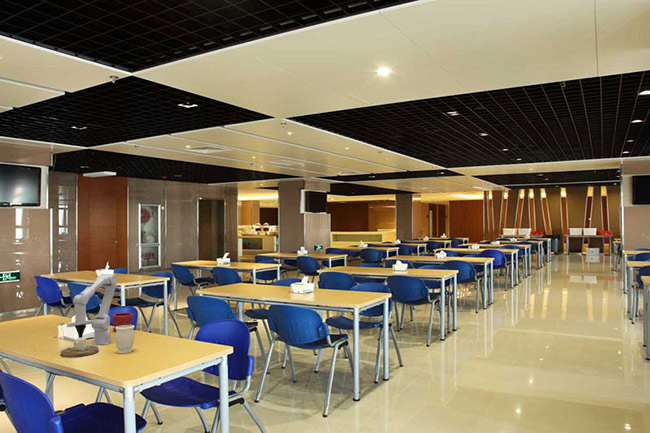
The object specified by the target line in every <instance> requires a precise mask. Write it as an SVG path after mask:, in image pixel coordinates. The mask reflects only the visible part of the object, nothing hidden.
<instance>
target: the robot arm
mask: <svg viewBox="0 0 650 433" xmlns="http://www.w3.org/2000/svg"><path fill="white" fill-rule="evenodd" d="M118 281H119V279H118V277H117V275H116V274H108V273H107V274H105V273H102V274H100V275H99V276H98V277H97V279H96V281H95V282H94V283H93V284H92V285H91V286H88V287H85V289H84V290H83V291H82V292H80V293H79V294H76V295H75V296H74V297H73V300H72V302H73V305H74V308H75V309H74V310H75V312H74V322H69V323H66V327H67V328H72V327H75V330H76V332H77V335H78V336H77V337H78V338H83V336H84V332H85V330H86V328H87V325H91V327H92V329H93V331H94V332H93V334H94V336H93V337H94V338H93V339H94V340H93V343H92V346H99V345H110V343H111V339H112V338H111V337H112V336H111V329H110V328H109V327H110V324H111V317H110V315H109V311H110V307H111V304H112V302H113V298H114V295H115V291H116V286H117V283H118ZM101 286H102V287H103V288H104V290H105V291H104V295H103V298H102V300H101V301H102V302H101V305H100V309H99V312H98V313H97V314H96V315H94V317H93V319H92V320H87V312H86V311H87V304H88V302H89V300H90V299H91V297H93V295H95V293H96V292H95V291H97V290H98V289H100V287H101Z"/></svg>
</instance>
